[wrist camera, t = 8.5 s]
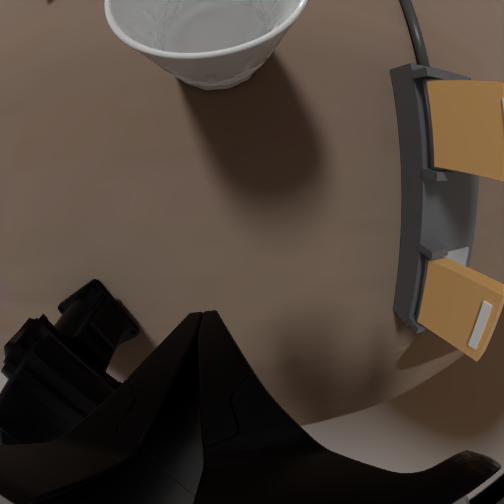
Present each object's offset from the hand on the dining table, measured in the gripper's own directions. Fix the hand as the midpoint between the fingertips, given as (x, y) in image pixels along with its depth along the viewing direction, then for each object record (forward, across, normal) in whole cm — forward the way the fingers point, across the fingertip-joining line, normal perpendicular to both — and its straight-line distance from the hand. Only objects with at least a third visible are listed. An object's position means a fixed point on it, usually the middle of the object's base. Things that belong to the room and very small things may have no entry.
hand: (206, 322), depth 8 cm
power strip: (+12, -18, -4) cm, 22 cm away
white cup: (+13, -1, -12) cm, 18 cm away
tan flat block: (+8, -15, -6) cm, 18 cm away
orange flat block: (+8, -16, +7) cm, 19 cm away
